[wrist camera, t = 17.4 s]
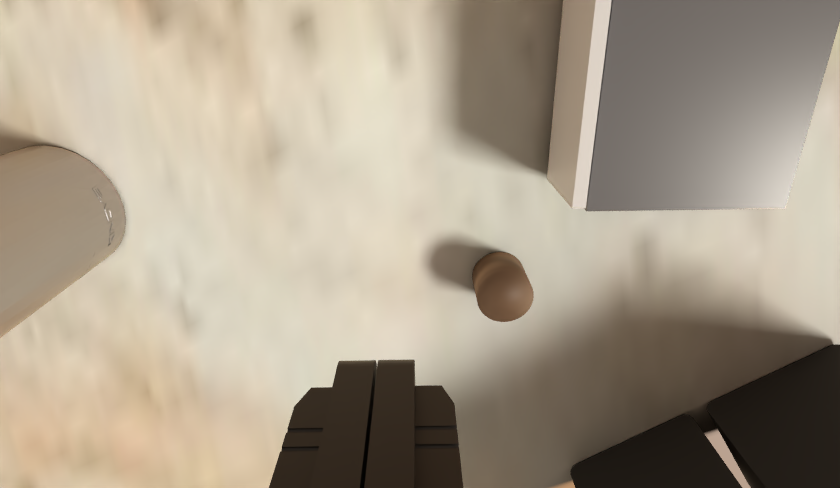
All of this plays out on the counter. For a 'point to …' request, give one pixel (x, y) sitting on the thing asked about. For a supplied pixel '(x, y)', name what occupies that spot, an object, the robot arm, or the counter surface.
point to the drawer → (577, 96)
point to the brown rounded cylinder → (502, 287)
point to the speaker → (740, 438)
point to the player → (707, 102)
